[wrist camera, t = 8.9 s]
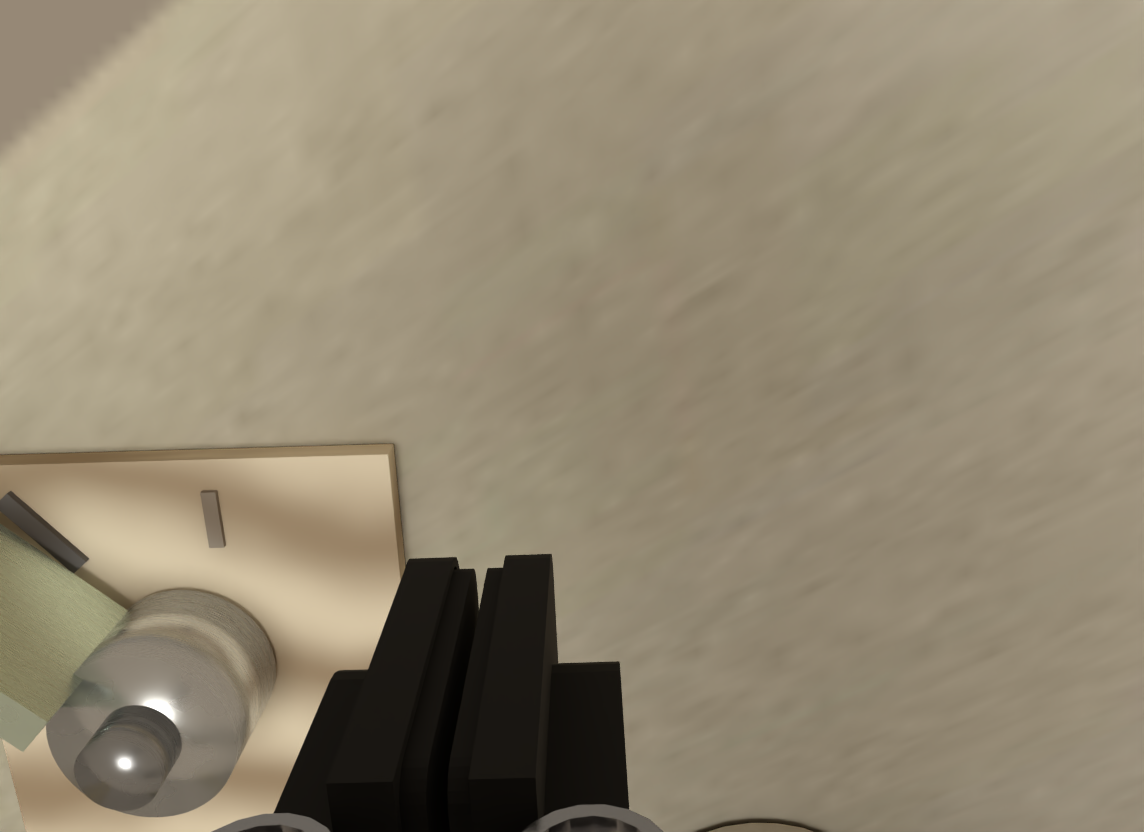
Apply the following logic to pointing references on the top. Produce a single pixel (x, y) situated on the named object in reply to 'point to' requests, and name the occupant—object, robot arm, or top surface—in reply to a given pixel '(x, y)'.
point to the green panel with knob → (128, 684)
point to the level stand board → (219, 583)
